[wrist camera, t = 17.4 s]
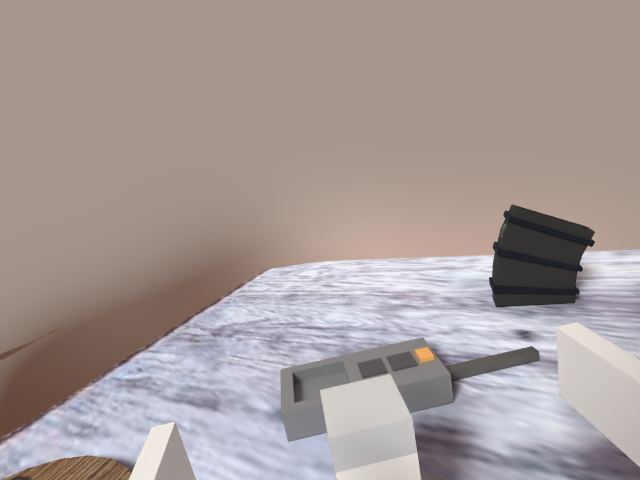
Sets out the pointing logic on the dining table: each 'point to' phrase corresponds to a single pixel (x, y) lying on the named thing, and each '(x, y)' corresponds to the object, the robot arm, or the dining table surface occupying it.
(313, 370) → the power strip
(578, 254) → the magazine
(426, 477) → the mat
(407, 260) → the dining table surface
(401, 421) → the block
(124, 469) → the trivet
